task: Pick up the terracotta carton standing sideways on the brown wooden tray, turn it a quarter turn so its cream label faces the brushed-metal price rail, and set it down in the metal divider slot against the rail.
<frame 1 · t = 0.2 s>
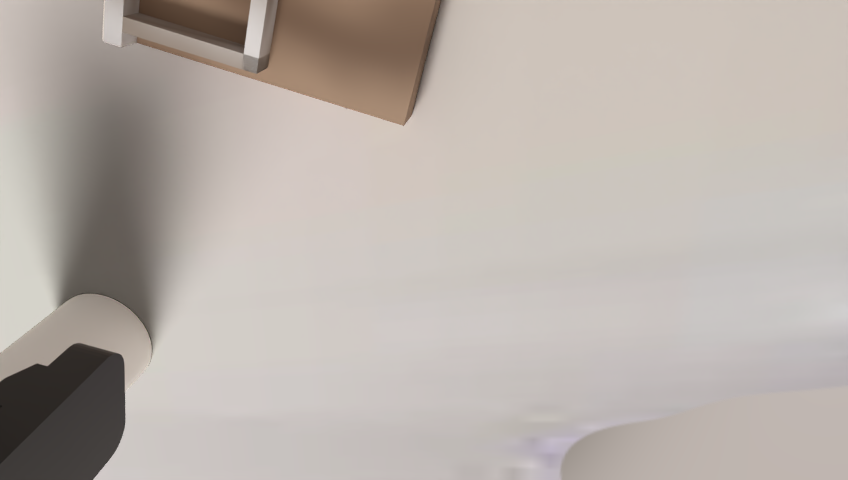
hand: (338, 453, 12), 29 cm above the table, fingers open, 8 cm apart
cylindrical container: (106, 336, 50), on the table
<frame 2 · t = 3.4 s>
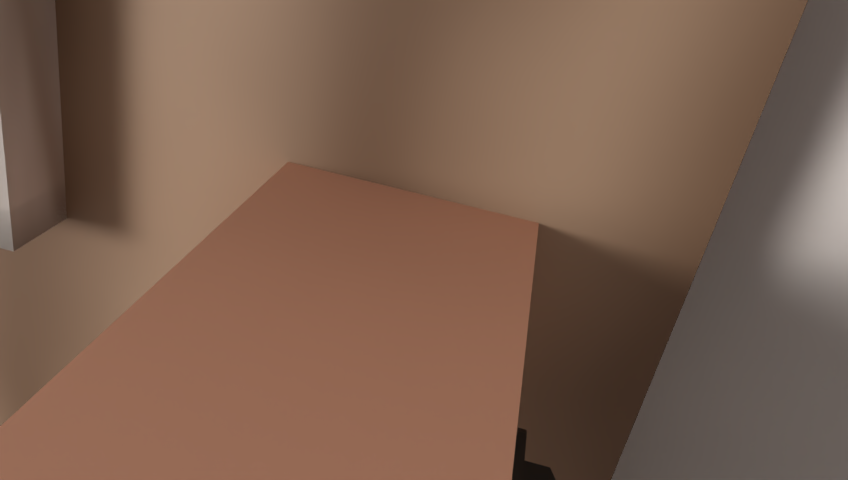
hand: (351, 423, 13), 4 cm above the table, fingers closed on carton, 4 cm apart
carton: (377, 373, 14), point 2 cm above the table, touching gripper, brown wooden tray
brown wooden tray: (106, 165, 16), on the table
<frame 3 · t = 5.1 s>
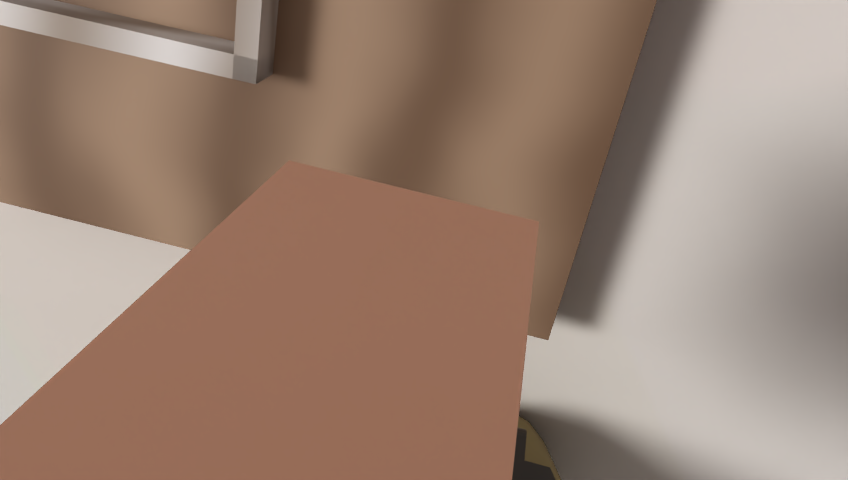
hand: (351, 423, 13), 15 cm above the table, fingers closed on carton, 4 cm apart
carton: (377, 372, 14), point 14 cm above the table, touching gripper
brown wooden tray: (282, 51, 26), on the table
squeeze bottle: (482, 448, 33), on the table
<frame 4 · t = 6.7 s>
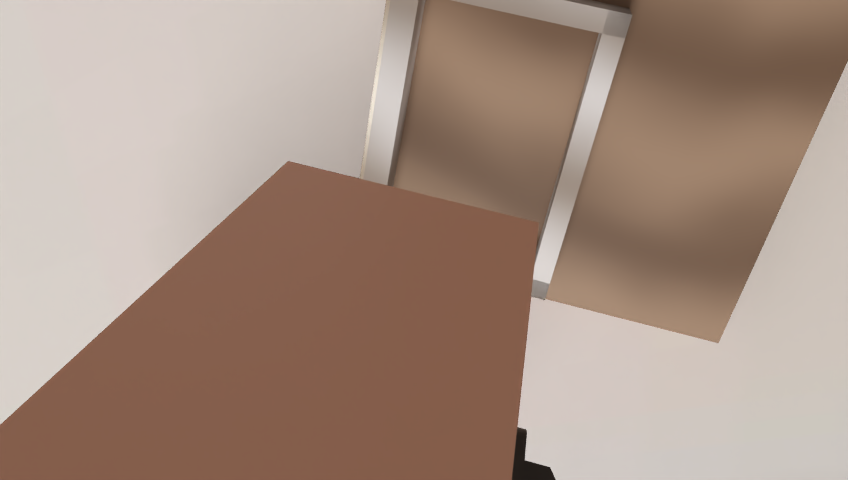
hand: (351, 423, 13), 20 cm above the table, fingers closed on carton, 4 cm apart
carton: (377, 373, 14), point 18 cm above the table, touching gripper
brown wooden tray: (615, 9, 27), on the table
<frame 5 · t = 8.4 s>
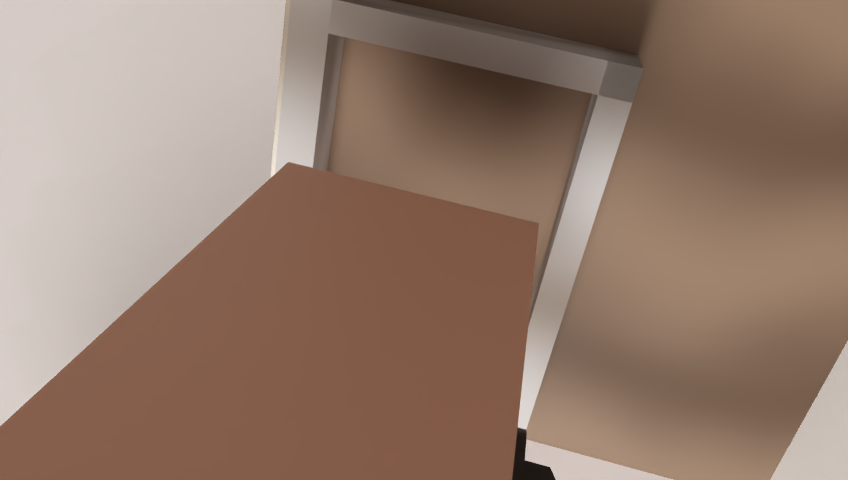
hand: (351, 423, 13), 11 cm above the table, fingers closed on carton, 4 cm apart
carton: (377, 374, 14), point 9 cm above the table, touching gripper
brown wooden tray: (616, 53, 19), on the table
when the fingers open (5 cm above the table, at t = 9.9 s): carton drops 1 cm, resting on brown wooden tray.
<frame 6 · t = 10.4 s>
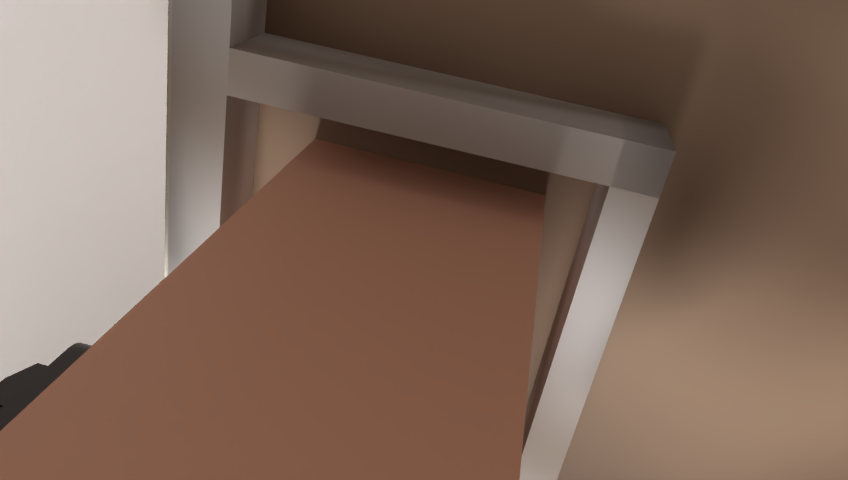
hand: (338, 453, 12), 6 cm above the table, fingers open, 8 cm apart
carton: (393, 338, 15), point 2 cm above the table, touching brown wooden tray
brown wooden tray: (632, 111, 14), on the table
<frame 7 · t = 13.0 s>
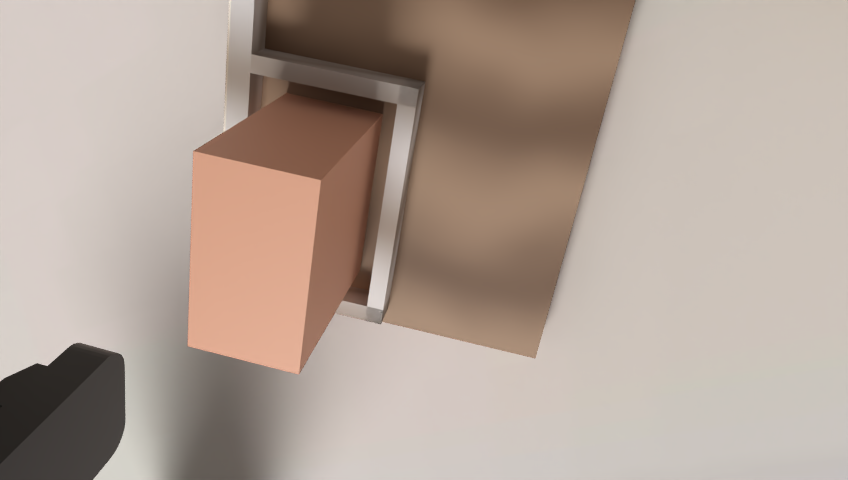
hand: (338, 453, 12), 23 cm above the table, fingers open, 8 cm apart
carton: (324, 185, 34), point 2 cm above the table, touching brown wooden tray
brown wooden tray: (425, 80, 33), on the table
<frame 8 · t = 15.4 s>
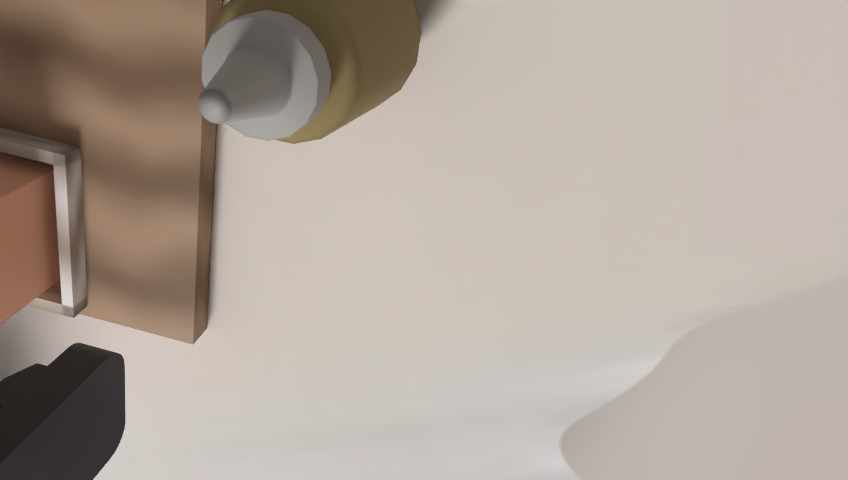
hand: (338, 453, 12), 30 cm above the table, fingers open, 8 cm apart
carton: (28, 216, 46), point 2 cm above the table, touching brown wooden tray
brown wooden tray: (95, 142, 45), on the table
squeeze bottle: (362, 21, 39), on the table
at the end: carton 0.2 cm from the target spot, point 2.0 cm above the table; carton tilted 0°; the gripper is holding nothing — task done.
